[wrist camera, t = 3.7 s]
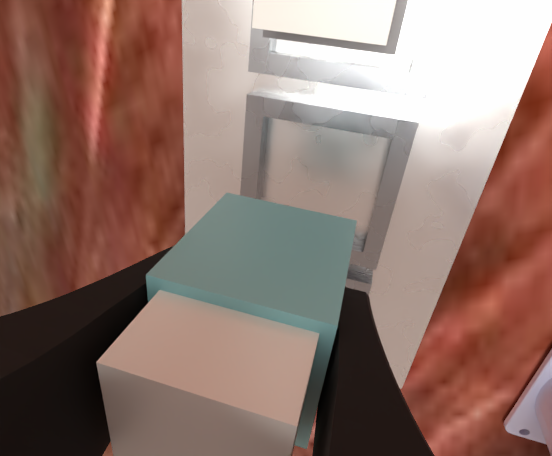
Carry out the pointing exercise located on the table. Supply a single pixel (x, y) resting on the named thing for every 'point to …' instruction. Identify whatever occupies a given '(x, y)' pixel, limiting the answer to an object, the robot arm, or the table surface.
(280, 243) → the plug
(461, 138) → the panel
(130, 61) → the table surface
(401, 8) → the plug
